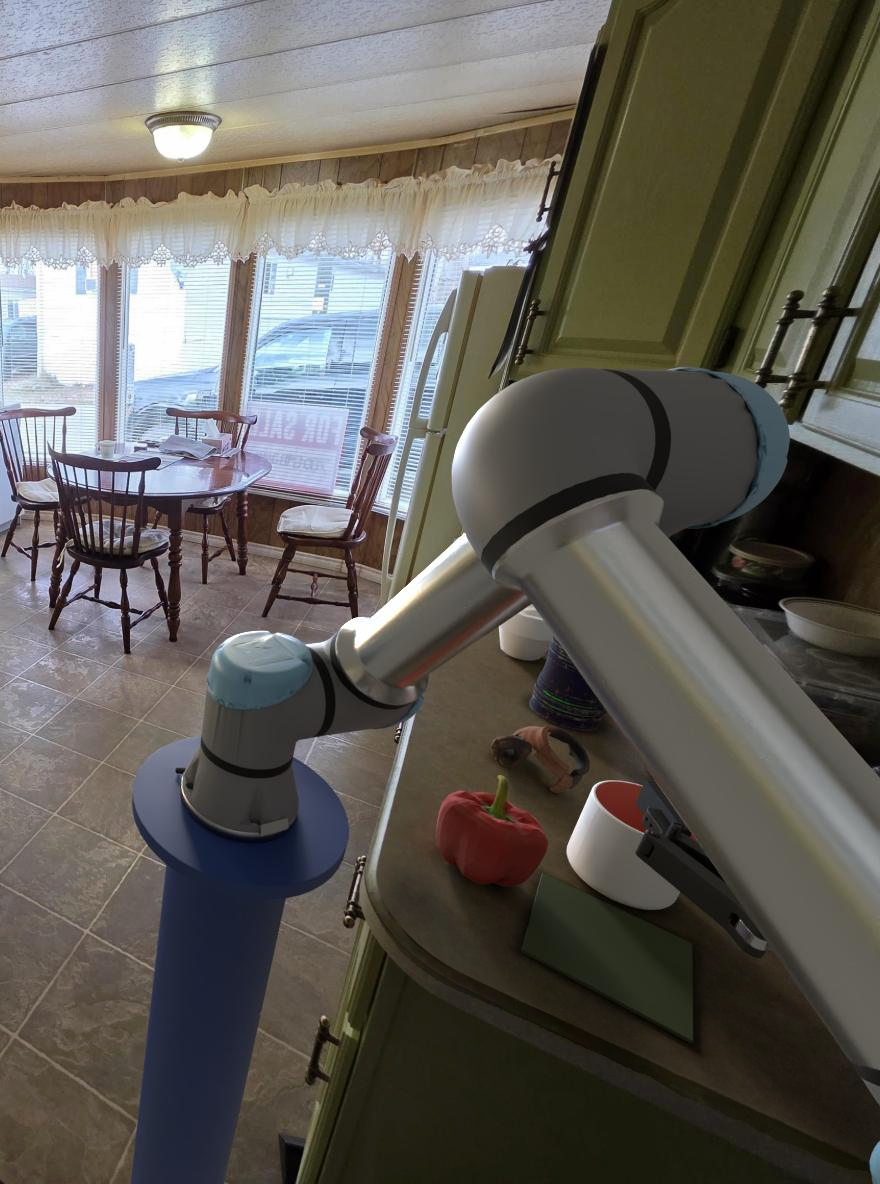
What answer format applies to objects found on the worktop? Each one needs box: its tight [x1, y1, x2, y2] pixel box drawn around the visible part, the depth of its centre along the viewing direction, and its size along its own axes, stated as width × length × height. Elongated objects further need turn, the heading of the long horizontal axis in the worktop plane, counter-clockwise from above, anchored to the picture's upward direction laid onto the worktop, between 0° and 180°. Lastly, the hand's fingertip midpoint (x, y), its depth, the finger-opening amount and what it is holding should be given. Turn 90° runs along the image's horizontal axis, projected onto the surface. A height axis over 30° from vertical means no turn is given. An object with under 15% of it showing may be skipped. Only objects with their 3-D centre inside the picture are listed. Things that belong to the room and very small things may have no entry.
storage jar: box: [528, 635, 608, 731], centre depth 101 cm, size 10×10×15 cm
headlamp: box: [490, 724, 591, 794], centre depth 89 cm, size 12×10×8 cm
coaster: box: [520, 872, 694, 1045], centre depth 65 cm, size 13×13×1 cm
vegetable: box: [435, 774, 549, 888], centre depth 72 cm, size 11×10×10 cm
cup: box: [566, 779, 697, 911], centre depth 71 cm, size 10×10×10 cm
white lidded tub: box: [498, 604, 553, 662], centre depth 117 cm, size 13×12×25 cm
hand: (735, 810), depth 57 cm, fingers open, 13 cm apart
